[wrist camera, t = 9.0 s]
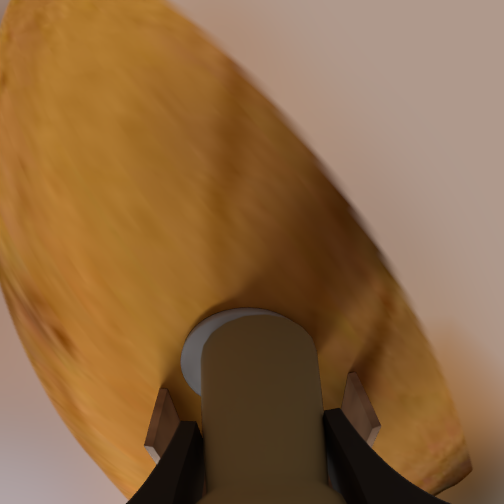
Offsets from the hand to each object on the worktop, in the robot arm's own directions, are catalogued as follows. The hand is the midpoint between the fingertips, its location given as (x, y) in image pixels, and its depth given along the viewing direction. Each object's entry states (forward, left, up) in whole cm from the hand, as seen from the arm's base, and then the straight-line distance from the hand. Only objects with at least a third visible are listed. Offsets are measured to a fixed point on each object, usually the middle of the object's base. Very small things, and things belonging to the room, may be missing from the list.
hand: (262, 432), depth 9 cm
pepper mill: (0, 0, -5) cm, 5 cm away
